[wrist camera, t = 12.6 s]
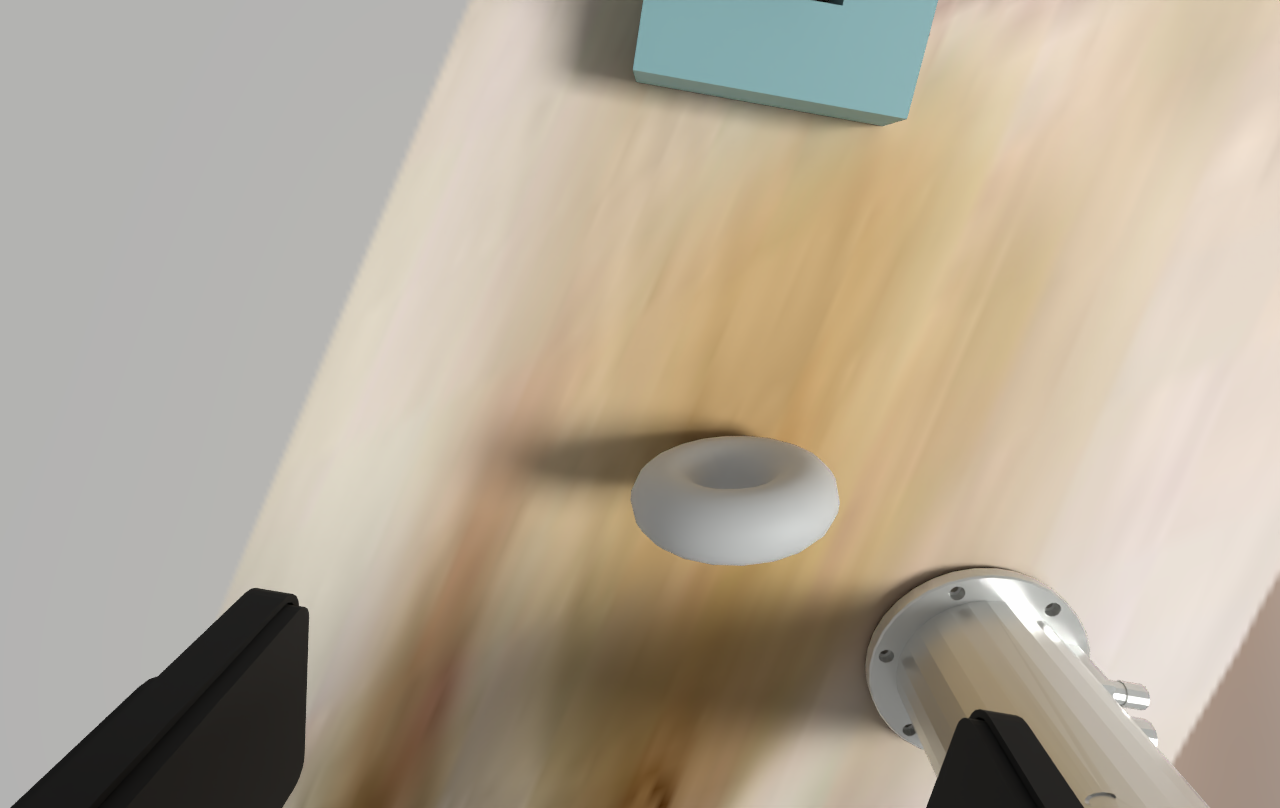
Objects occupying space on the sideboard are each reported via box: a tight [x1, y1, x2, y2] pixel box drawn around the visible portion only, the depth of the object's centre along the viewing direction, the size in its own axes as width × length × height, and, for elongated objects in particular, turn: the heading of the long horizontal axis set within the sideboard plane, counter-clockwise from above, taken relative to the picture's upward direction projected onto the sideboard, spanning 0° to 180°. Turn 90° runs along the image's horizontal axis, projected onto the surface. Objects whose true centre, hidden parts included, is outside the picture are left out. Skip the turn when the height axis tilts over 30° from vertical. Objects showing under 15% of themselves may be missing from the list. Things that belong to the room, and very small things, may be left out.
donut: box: [631, 436, 840, 566], centre depth 34 cm, size 10×4×10 cm, turn 94°
